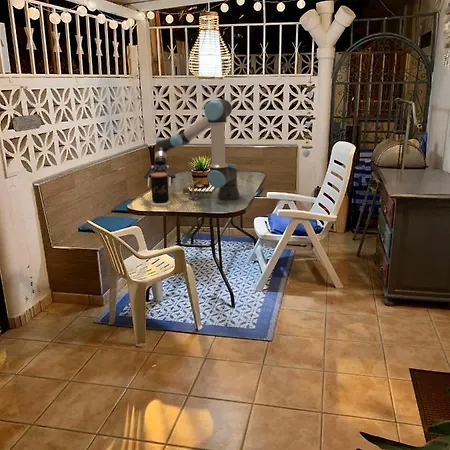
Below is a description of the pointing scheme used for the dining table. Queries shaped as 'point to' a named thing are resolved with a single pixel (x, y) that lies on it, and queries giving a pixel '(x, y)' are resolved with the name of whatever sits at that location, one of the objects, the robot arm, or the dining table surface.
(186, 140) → the robot arm
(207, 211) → the dining table surface
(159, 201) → the coffee jar
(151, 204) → the dish
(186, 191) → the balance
